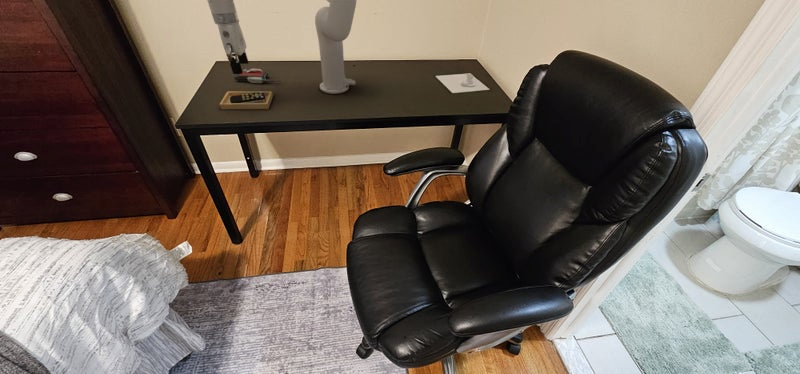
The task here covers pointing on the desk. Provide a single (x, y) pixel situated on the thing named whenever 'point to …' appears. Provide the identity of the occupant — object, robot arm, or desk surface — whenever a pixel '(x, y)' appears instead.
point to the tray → (262, 105)
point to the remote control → (248, 98)
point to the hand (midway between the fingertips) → (241, 68)
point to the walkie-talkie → (254, 76)
